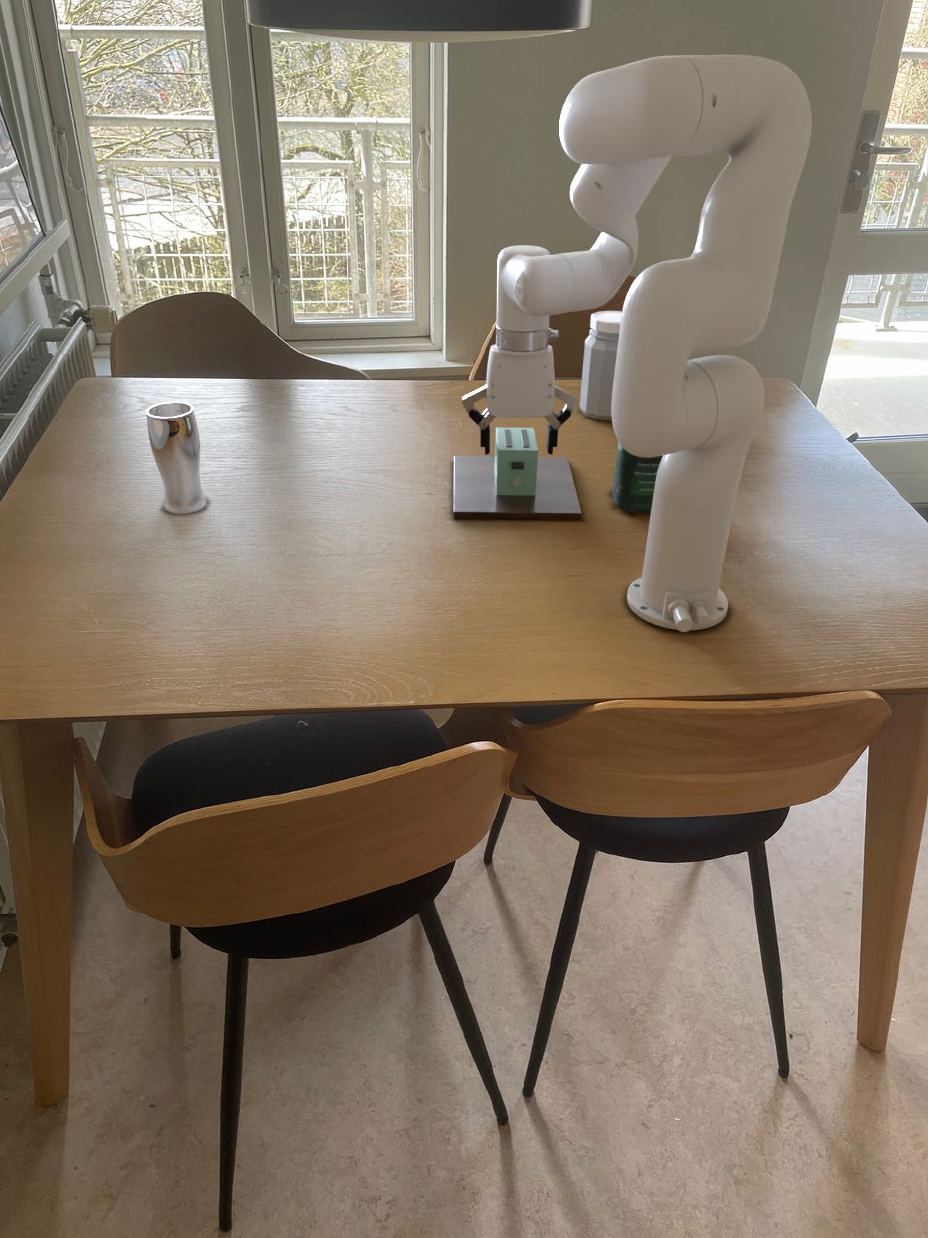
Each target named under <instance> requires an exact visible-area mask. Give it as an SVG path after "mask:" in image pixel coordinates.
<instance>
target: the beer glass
mask: <svg viewBox="0 0 928 1238" xmlns="http://www.w3.org/2000/svg"><path fill="white" fill-rule="evenodd" d="M194 409H195V408H194V406H193V405H192V404H189V403H187V402H181V401H168V402H162V403H157V404H153V405H152V406H149V408H147V409H146V410H145V414H146V415H145V416H146V425H147V433H148V435H147V436H148V441H149V445H150V449H151V450H150V451H151V453H152V455H153V459H154V462H155V465H156V467H157V470H158V472H159V475H160V478H161V480H162V485H163V490H164V491H163V493H164V494H163V496H164V497H163V507H164V509H165V510H166V511H167V512H168V513H170V514H176V515H187V514H188V515H189V514H192V513H193V514H194V513H196V512H200V511H201V510H202V509H204V508H205V507H206V504H207V500H206V497H205V494H204V492H203V488H202V485H201V478H200V476H201V473H200V470H201V469H200V468H201V440H200V439H201V438H200V433H199V427H198V423H197V418H196V414H195V410H194Z"/></svg>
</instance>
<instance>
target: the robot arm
mask: <svg viewBox="0 0 928 1238" xmlns="http://www.w3.org/2000/svg"><path fill="white" fill-rule="evenodd" d="M558 125H559V131H558V134H559V140H560V143H561V146H562V149H563V150H564V152H565V154H566V156H568V158H570V160H571V161H573V162H576V163H577V164H580V167H579V168H578V170H577V172H576V174H575V176H574V178H573V180H572V182H571V184H570V188H569V189H570V190H569V198H570V201H571V204H572V207H573V208H574V210H575V212H576V213H577V214H578V216H579V217H580V218H581V219H582V220H583V221H584V222H586V223H587V224H588V225H589V226H591V227H592V228H594V229H595V230H598V231H600V232H601V233H600V235H599V236H598V238H597V239H596V241H595V243H594V244H593V245H592V247H591V248H589V250H581V251H571V252H562V253H561V252H560V253H554V254H551V253H550V251H549V250H548V249H547V248H544V247H542V246H537V245H526V244H525V245H524V244H523V245H522V244H521V245H510V246H507V247H504V248H503V249H501V251H500V252H499V253H498V256H497V265H496V266H497V270H496V273H497V274H496V275H497V276H496V320H495V322H496V325H495V344H492V345H491V346H490V349H489V353H488V358H487V359H488V360H487V367H486V379H485V380H486V381H485V385H483V386H481V387H480V388H478V389H476V390H474V391H472V392H471V391H470V392H469V393H468V394H465V395H464V396H462V398H461V404H462V405H463V408H464V409H465V411H466V412H467V414H468V417H469V419H471V420H472V421H473V422H474V423H475V424H476V425H477V426H478V428H479V430H480V431H479V434H480V435H479V446H480V448H484V456H488V455H489V454H490V453H491V427H490V424H491V423H492V422H493V421H494V420H495V419H496V418H504V419H505V418H508V419H510V418H512V419H513V418H520V419H522V418H523V419H524V418H525V419H526V418H529V419H531V418H533V419H534V418H536V419H537V418H545V420H546V422H548V424H547V427H546V429H547V430H546V451H547V454H548V455H554V448H558V439H559V429H561V426H562V425H563V424H564V423H565V422H567V421H568V420H569V418H571V416H572V413H573V412H574V411H575V409H576V407H577V406H578V404H579V399H578V396H576V395H574V394H572V393H570V392H568V391H567V390H565V389H563V388H561V387H559V386H557V385H556V381H555V380H556V377H555V376H556V374H555V361H554V350H553V346H552V345H550V343H551V342H553V341H559V335H560V333H559V330H556V329H555V330H554V329H552V328H551V327H550V316H555V315H562V314H566V313H572V312H580V311H589V310H595V309H597V308H600V307H602V306H604V305H606V304H607V303H609V302H610V300H612V299H613V298H614V297H615V296H616V294H617V293H618V291H619V290H620V289H621V287H622V286H623V284H624V283H625V281H626V280H627V278H628V277H629V276H630V274H631V272H632V271H633V268H634V266H635V264H636V260H637V255H638V250H639V239H640V237H639V227H638V222H637V220H636V215H637V214H638V211H640V208H641V207H642V206H643V204H644V203H645V201H646V199H647V198H648V195H649V194H650V192H651V191H652V189H653V188H654V186H655V185H656V184H657V181H658V179H660V176H661V175H662V173H663V172H664V170H665V168H666V167H667V165H668V163H669V162H670V160H671V159H672V157H683V156H700V155H702V156H703V155H712V154H713V155H714V154H725V155H727V157H728V161H727V163H726V164H725V166H724V167H723V169H721V171H720V173H718V176H717V177H716V179H715V180H714V181H713V183H712V185H711V188H710V189H709V191H708V193H707V196H706V197H705V200H704V203H703V205H702V208H701V213H700V218H699V226H698V232H697V238H696V243H695V246H694V249H693V252H692V254H691V255H690V256H689V257H684V258H675V259H669V260H664V261H660V262H657V263H654V264H652V265H650V266H648V267H646V268H645V269H644V270H642V271H641V272H640V273H639V274H638V275H637V276H636V278H635V279H634V281H633V282H632V284H631V286H630V288H629V290H628V292H627V294H626V296H625V300H624V302H623V306H622V311H621V312H622V317H621V324H620V332H619V340H618V349H617V357H616V365H615V374H614V382H613V391H612V403H611V416H612V420H611V424H612V429H613V432H614V435H615V437H616V440H617V443H618V442H619V443H620V445H621V446H622V447H623V448H624V449H625V450H626V451H627V452H629V453H630V454H632V455H634V456H638V457H644V458H649V457H657V456H663V457H662V459H661V462H660V465H659V468H658V471H657V476H656V482H655V488H654V495H653V502H652V509H651V513H650V517H649V524H648V525H649V526H648V529H647V530H648V532H647V538H646V545H645V551H644V552H645V553H644V558H643V559H644V560H643V567H642V574H641V576H640V577H639V578H637V579H634V581H632V582H631V584H630V585H629V586H628V588H627V593H626V602H627V605H628V607H629V608H630V610H631V611H632V612H633V613H634V614H635V615H636V616H638V617H639V618H641V619H642V620H644V621H646V622H647V623H650V624H652V625H655V626H657V627H661V628H664V629H669V630H673V631H674V630H675V631H679V632H681V633H686V632H690V631H699V630H704V629H708V628H711V627H714V626H716V625H718V624H719V623H721V622H722V621H723V620H724V619H725V618H726V617H727V614H728V610H729V599H728V597H727V596H726V594H725V593H724V591H723V590H721V589H720V584H721V583H720V582H721V577H722V572H723V567H724V561H725V557H726V552H727V547H728V543H729V536H730V532H731V527H732V526H731V525H732V520H733V516H734V511H735V506H736V501H737V498H738V497H737V496H738V492H739V487H740V482H741V477H742V473H743V468H744V465H745V462H746V458H747V456H748V455H747V454H748V451H749V450H750V447H751V444H752V442H753V439H754V437H755V435H756V432H757V430H758V427H759V425H760V422H761V419H762V415H763V411H764V406H765V386H764V383H763V380H762V377H761V375H760V374H759V372H758V370H757V369H756V368H755V366H753V365H752V364H751V363H750V362H749V361H747V360H745V359H743V358H741V357H738V356H734V355H728V354H727V355H726V354H716V355H708V356H702V357H697V358H691V359H689V358H690V356H693V355H698V354H699V355H700V354H704V353H705V354H706V353H710V352H716V351H723V350H726V349H731V348H735V347H738V346H739V347H740V346H742V345H745V344H747V343H750V342H751V341H753V340H754V339H756V338H757V337H758V336H759V335H760V333H761V332H762V331H763V329H764V327H765V325H766V323H767V320H768V316H769V314H770V313H769V312H770V308H771V304H772V299H773V296H774V291H775V285H776V281H777V276H778V273H779V266H780V261H781V258H782V257H781V256H782V251H783V248H784V243H785V238H786V232H787V226H788V221H789V216H790V213H791V208H792V204H793V200H794V197H795V194H796V190H797V187H798V184H799V182H800V179H801V175H802V173H803V170H804V166H805V163H806V159H807V155H808V152H809V149H810V148H809V147H810V143H811V138H812V128H813V126H812V125H813V117H812V108H811V103H810V99H809V95H808V92H807V90H806V87H805V86H804V84H803V82H802V80H801V79H800V78H799V76H798V75H797V74H796V73H795V72H794V71H793V70H792V69H791V68H790V67H788V66H787V65H785V64H784V63H782V62H779V61H777V60H774V59H772V58H768V57H763V56H759V55H758V56H756V55H750V54H749V55H748V54H711V55H706V54H705V55H699V54H697V55H694V54H691V55H690V54H689V55H684V54H683V55H679V54H678V55H677V54H676V55H659V56H653V57H648V58H644V59H639V60H636V61H633V62H629V63H626V64H623V65H622V64H621V65H619V66H615V67H612V68H607V69H605V70H601V71H597V72H593V73H590V74H588V75H586V76H584V77H583V78H581V79H580V80H579V81H578V82H577V83H576V84H575V85H574V86H573V88H572V89H571V90H570V92H569V93H568V94H567V96H566V99H565V100H564V103H563V105H562V109H561V113H560V117H559V124H558ZM484 398H485V406H486V409H485V410H484V411H483V412H482V413H481V412H480V411H479V410H478V409H477V408H476V407H475V405H474V404H475V403H476V402H478V401H480V400H482V399H484ZM555 398H557V399H558V400H561V401H562V402H565V404H564V407H563V408H562V409H560V411H559V412H558V413H556V412H555V411H554V410H555V400H556V399H555Z"/></svg>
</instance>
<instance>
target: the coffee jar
mask: <svg viewBox="0 0 928 1238" xmlns="http://www.w3.org/2000/svg"><path fill="white" fill-rule="evenodd" d="M662 457H663V456H657V457H649V458H644V457H638V456H634V455H632V454H630V453H629V452H627V451H626V450H625V449H624V448H623V447H622V446H621V445H620V443H619V442H618V441H617V451H616V458H615V467H614V473H613V481H612V490H611V491H612V492H611V494H612V499H613V501H614V503H615V505H616V507H618V509H620V510H622V511H627V512H629V513H634V514H640V515H646V514H651V509H652V502H653V495H654V488H655V482H656V476H657V471H658V468H659V465H660V462H661V459H662Z"/></svg>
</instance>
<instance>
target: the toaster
mask: <svg viewBox="0 0 928 1238" xmlns="http://www.w3.org/2000/svg"><path fill="white" fill-rule="evenodd" d="M535 431H536V430H535V428H534V427H498V426H497V427H495V439H494V456H495V465H494V473H495V485H496V495H523V496H535V493H536V478H537V462H538V457H539V447H538V441H537V437H536V432H535Z"/></svg>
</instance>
